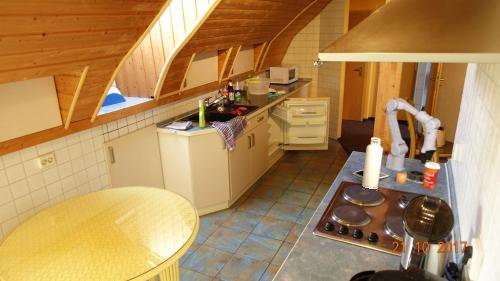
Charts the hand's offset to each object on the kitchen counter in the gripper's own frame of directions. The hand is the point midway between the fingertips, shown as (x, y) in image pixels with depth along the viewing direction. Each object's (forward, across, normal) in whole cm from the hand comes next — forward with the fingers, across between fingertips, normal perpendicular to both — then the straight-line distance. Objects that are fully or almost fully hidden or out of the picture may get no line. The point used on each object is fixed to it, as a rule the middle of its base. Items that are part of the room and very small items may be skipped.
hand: (425, 161), depth 204 cm
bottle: (+10, -38, +13) cm, 42 cm away
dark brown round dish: (+9, -5, +2) cm, 11 cm away
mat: (+10, -5, +3) cm, 11 cm away
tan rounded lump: (+10, -18, +5) cm, 21 cm away
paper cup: (+10, -13, -8) cm, 18 cm away
